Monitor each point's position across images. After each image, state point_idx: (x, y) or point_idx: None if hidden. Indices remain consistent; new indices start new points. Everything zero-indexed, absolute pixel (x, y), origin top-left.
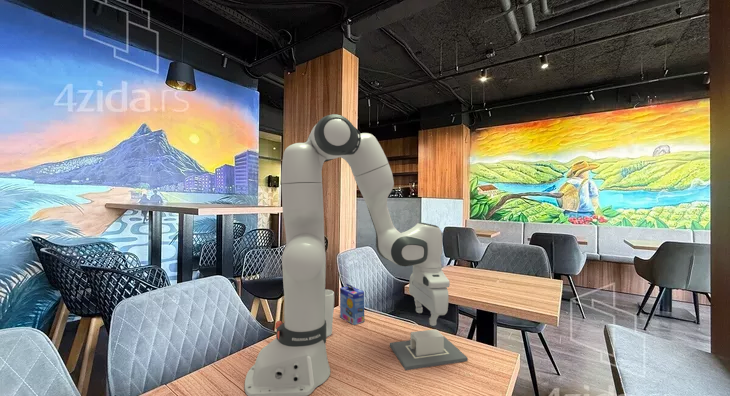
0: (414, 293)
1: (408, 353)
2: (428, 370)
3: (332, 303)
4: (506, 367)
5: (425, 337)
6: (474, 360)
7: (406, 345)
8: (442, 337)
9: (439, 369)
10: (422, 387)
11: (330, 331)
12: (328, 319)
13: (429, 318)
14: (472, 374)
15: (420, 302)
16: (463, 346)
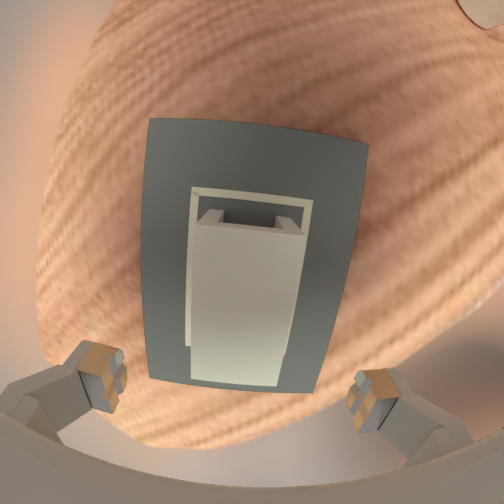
0: (479, 492)
1: (244, 180)
2: (127, 212)
3: None
4: (115, 418)
5: (205, 289)
6: (153, 387)
7: (315, 209)
8: (191, 369)
9: (123, 256)
10: (61, 145)
11: (471, 7)
12: None
13: (91, 373)
14: (88, 335)
15: (265, 492)
16: (239, 409)
